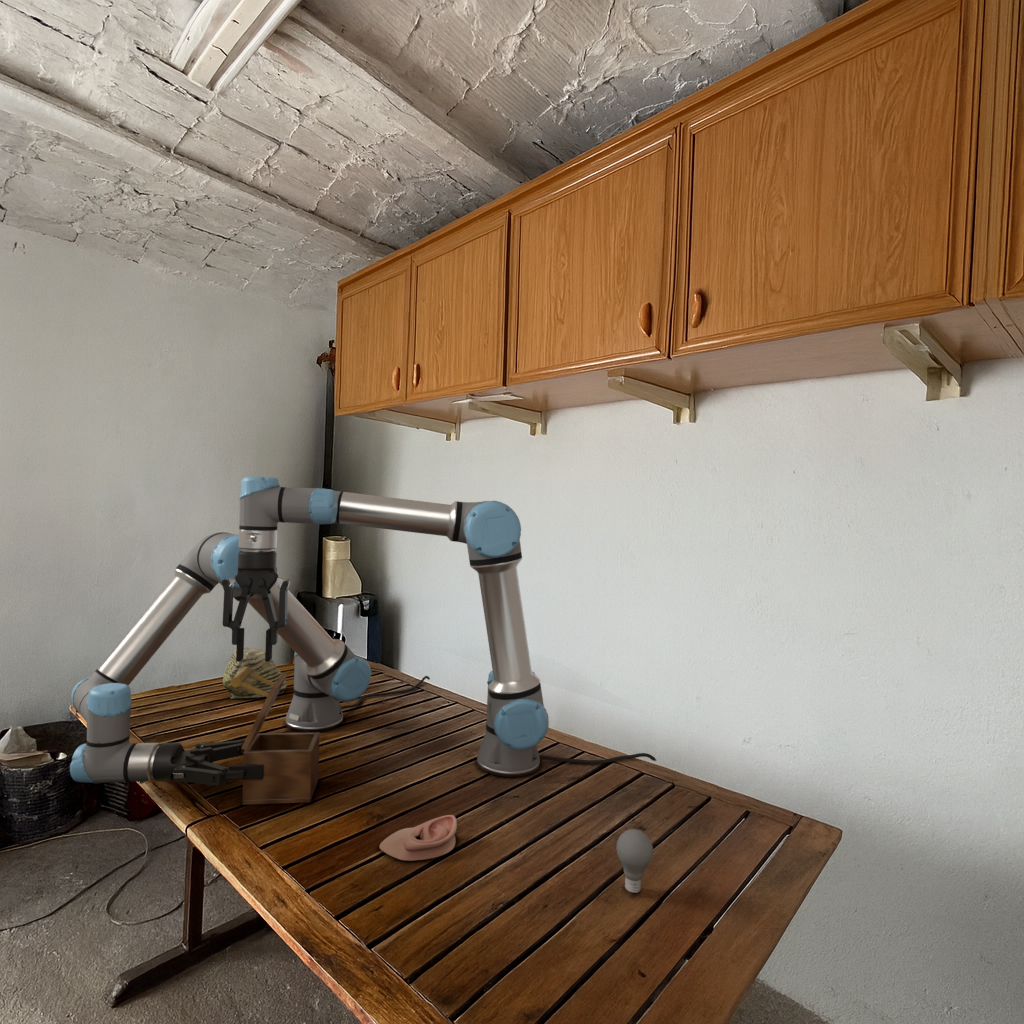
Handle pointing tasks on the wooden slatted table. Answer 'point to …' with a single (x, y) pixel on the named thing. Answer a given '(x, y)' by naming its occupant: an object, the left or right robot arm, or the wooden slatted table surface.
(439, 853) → the anatomical model
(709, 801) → the wooden slatted table surface
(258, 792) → the chest
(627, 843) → the light bulb
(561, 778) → the wooden slatted table surface
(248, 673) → the lid
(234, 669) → the fossil
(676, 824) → the wooden slatted table surface
